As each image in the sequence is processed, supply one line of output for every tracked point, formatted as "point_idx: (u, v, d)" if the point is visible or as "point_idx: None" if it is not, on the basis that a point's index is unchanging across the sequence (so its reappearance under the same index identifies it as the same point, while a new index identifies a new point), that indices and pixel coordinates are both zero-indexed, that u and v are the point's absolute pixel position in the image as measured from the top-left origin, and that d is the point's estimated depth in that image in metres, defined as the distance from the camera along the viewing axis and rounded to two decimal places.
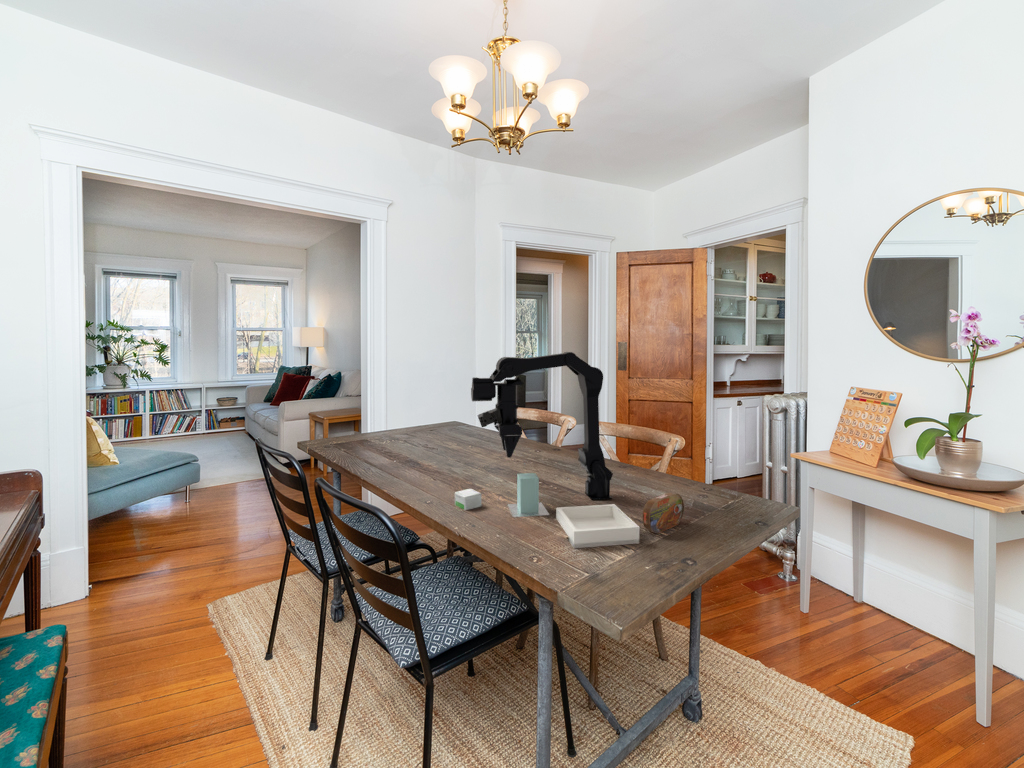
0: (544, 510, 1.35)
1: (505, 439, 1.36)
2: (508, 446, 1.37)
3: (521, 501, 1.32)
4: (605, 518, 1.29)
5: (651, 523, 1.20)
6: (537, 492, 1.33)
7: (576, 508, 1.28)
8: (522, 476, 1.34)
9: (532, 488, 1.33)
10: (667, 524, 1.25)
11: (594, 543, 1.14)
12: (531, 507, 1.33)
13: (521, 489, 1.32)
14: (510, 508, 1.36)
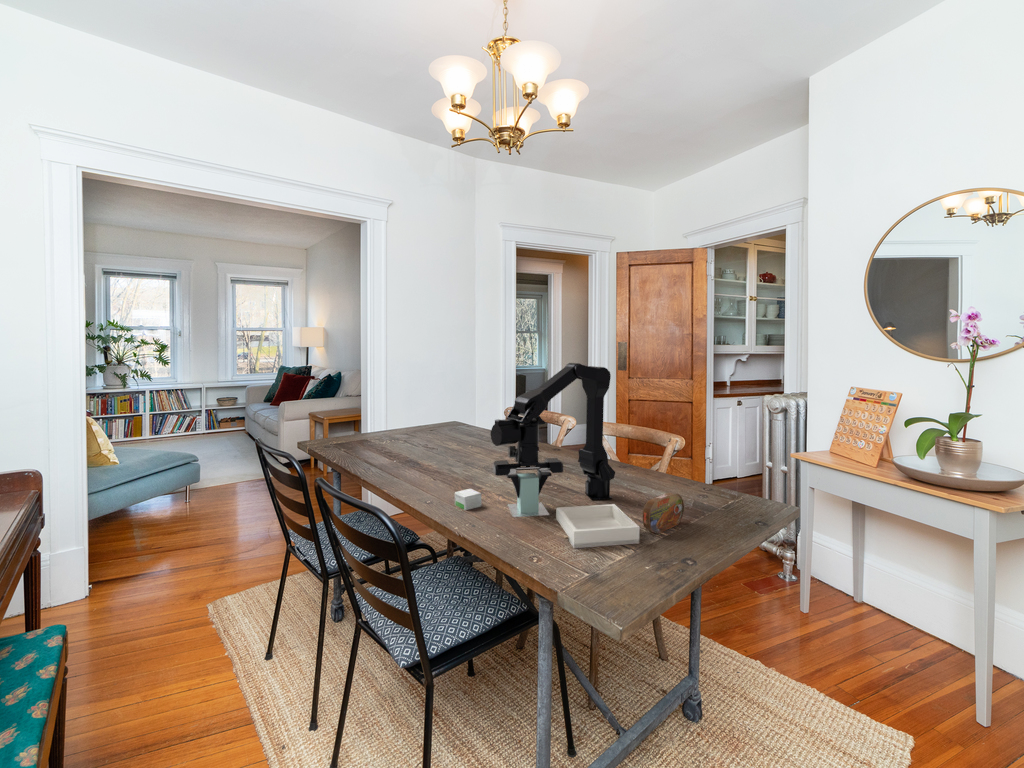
0: (544, 510, 1.35)
1: None
2: (514, 485, 1.35)
3: (521, 501, 1.32)
4: (605, 518, 1.29)
5: (651, 523, 1.20)
6: (537, 492, 1.33)
7: (576, 508, 1.28)
8: (522, 476, 1.34)
9: (533, 488, 1.33)
10: (667, 524, 1.25)
11: (594, 543, 1.14)
12: (531, 507, 1.33)
13: (521, 489, 1.32)
14: (510, 508, 1.36)
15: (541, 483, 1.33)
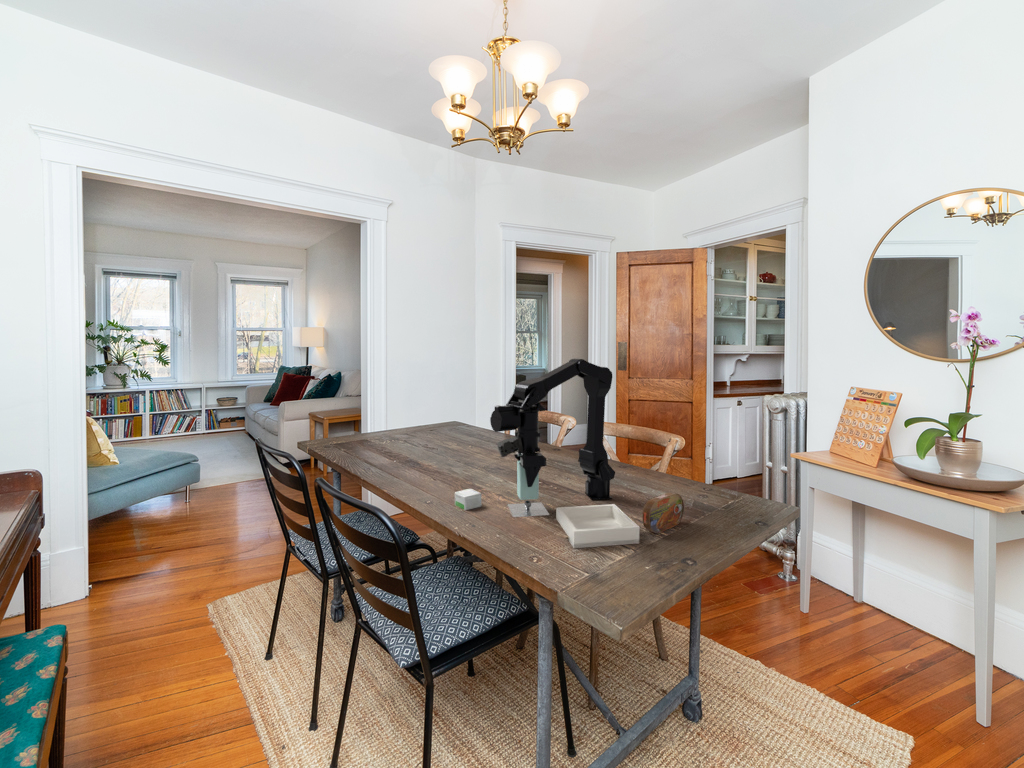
0: (544, 510, 1.35)
1: (526, 468, 1.30)
2: (528, 476, 1.31)
3: None
4: (605, 518, 1.29)
5: (651, 523, 1.20)
6: None
7: (576, 508, 1.28)
8: None
9: None
10: (667, 524, 1.25)
11: (594, 543, 1.14)
12: None
13: (538, 475, 1.33)
14: (510, 508, 1.36)
15: None
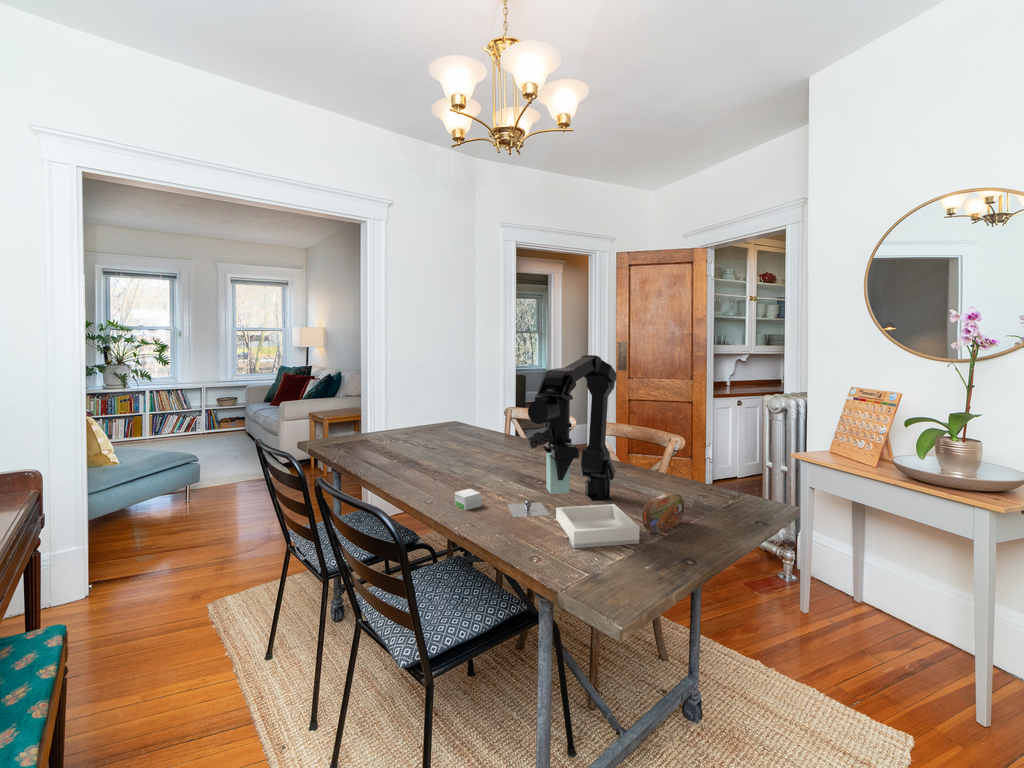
0: (544, 510, 1.35)
1: (557, 460, 1.23)
2: (559, 469, 1.24)
3: (569, 480, 1.26)
4: (605, 518, 1.29)
5: (651, 523, 1.20)
6: None
7: (576, 508, 1.28)
8: None
9: None
10: (667, 524, 1.25)
11: (594, 543, 1.14)
12: None
13: (569, 467, 1.26)
14: (510, 508, 1.36)
15: None
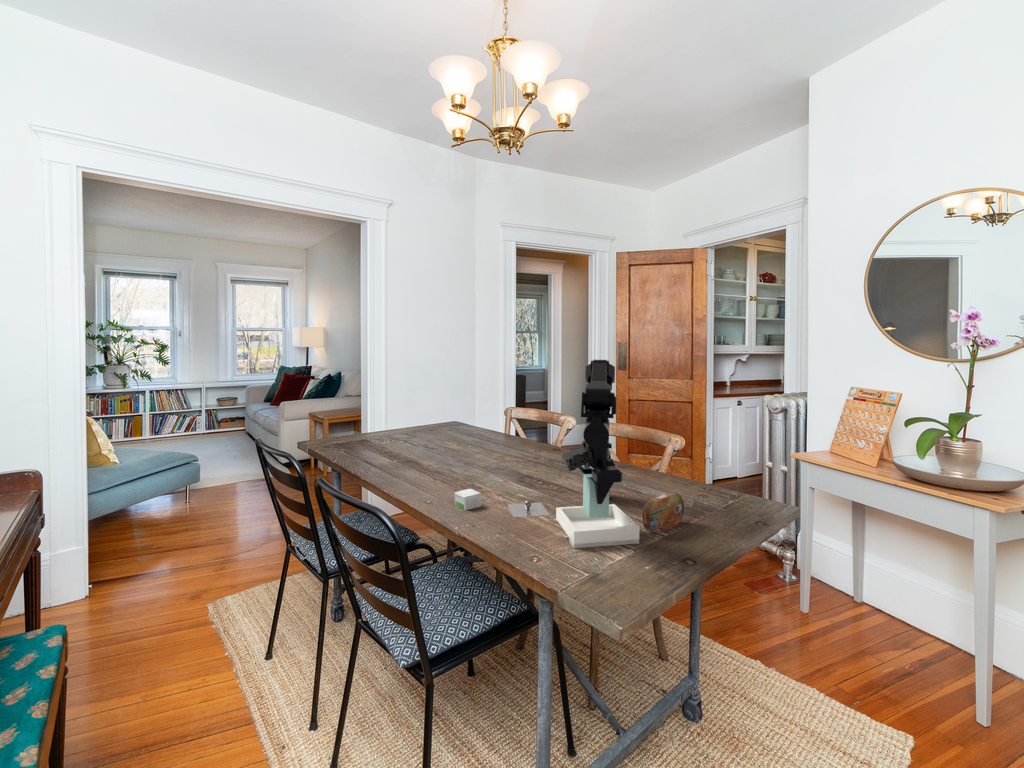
0: (544, 510, 1.35)
1: (597, 484, 1.16)
2: (599, 492, 1.18)
3: None
4: (605, 518, 1.29)
5: (651, 523, 1.20)
6: None
7: (576, 508, 1.28)
8: None
9: None
10: (667, 525, 1.25)
11: (594, 543, 1.14)
12: None
13: None
14: (510, 508, 1.36)
15: None
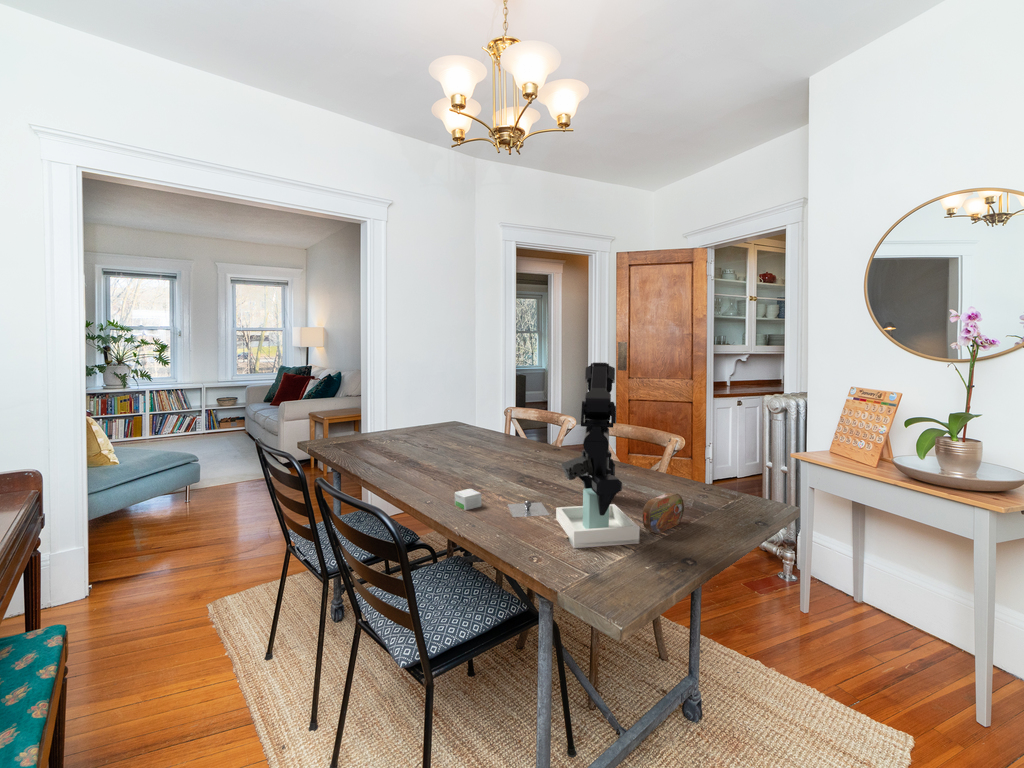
0: (544, 510, 1.35)
1: (600, 495, 1.15)
2: (601, 503, 1.16)
3: None
4: None
5: (651, 523, 1.20)
6: None
7: (576, 508, 1.28)
8: None
9: None
10: (667, 524, 1.25)
11: (594, 543, 1.14)
12: None
13: None
14: (510, 508, 1.36)
15: None
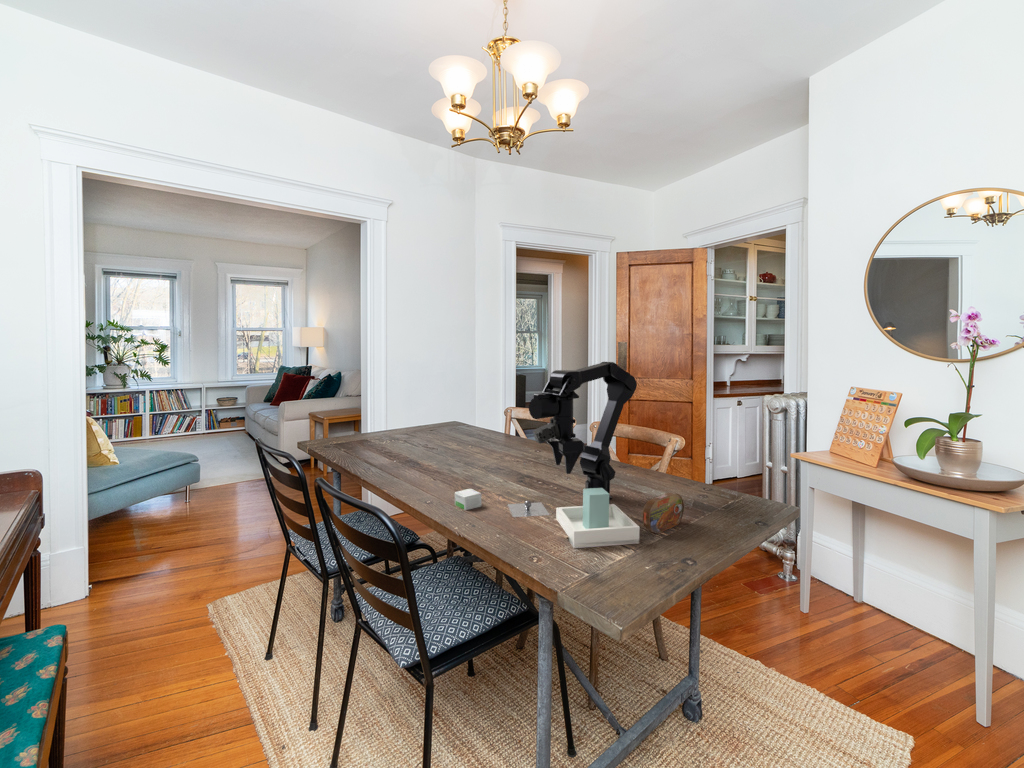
0: (544, 510, 1.35)
1: (566, 455, 1.32)
2: (568, 463, 1.34)
3: None
4: None
5: (651, 523, 1.20)
6: None
7: (576, 508, 1.28)
8: (600, 493, 1.20)
9: None
10: (667, 524, 1.25)
11: (594, 543, 1.14)
12: None
13: None
14: (510, 508, 1.36)
15: None
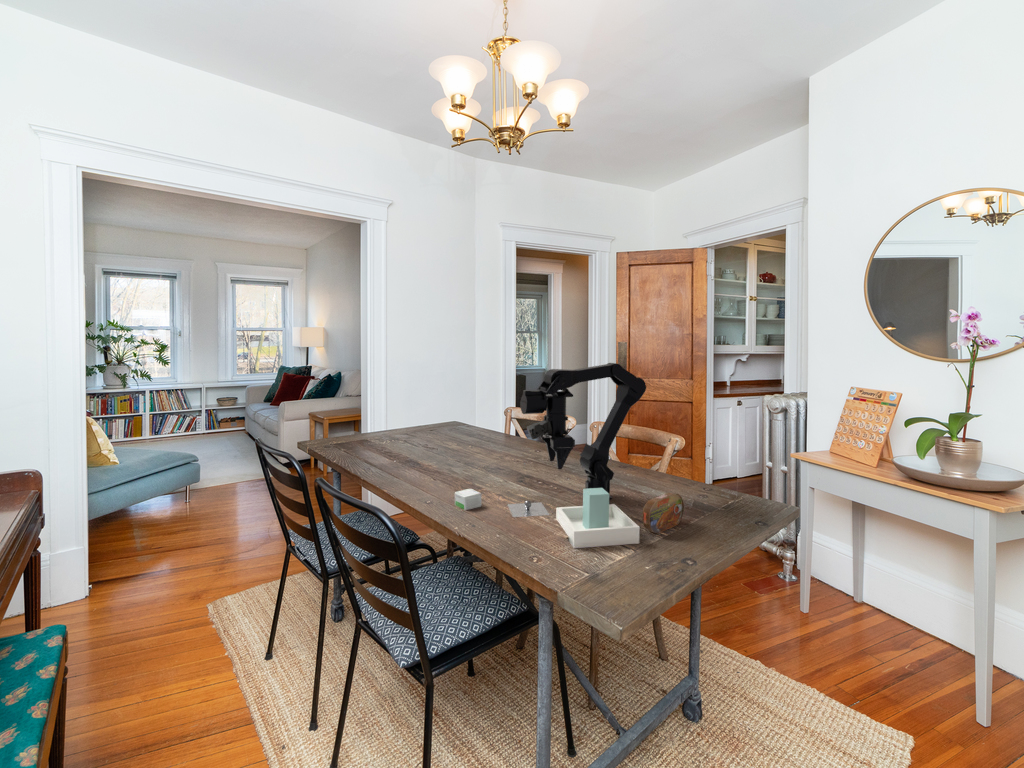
0: (544, 510, 1.35)
1: (557, 451, 1.37)
2: (559, 458, 1.38)
3: None
4: None
5: (651, 523, 1.20)
6: None
7: (576, 508, 1.28)
8: (600, 493, 1.20)
9: None
10: (667, 525, 1.25)
11: (594, 543, 1.14)
12: None
13: None
14: (510, 508, 1.36)
15: None
